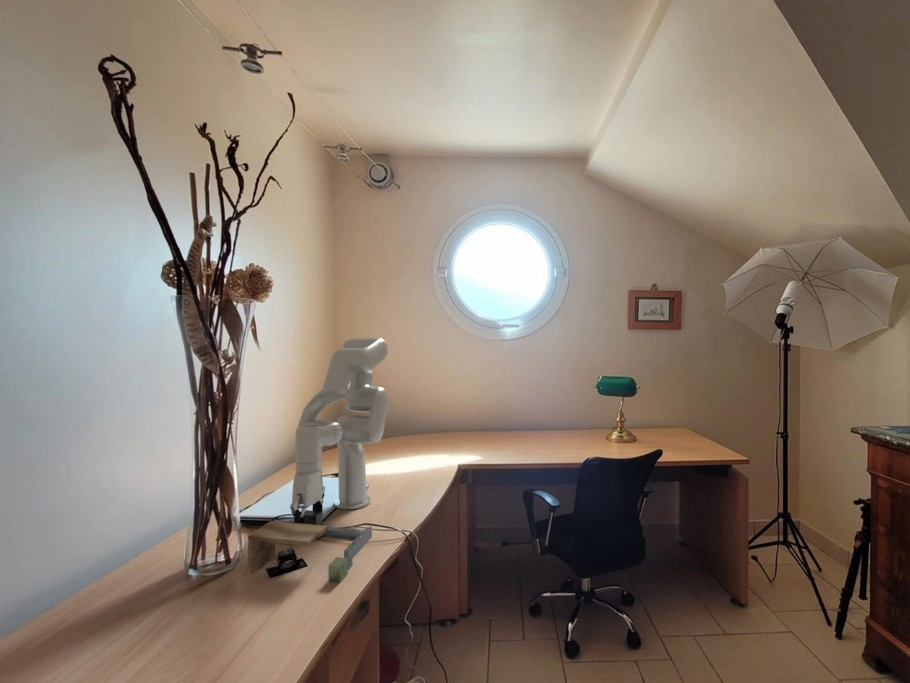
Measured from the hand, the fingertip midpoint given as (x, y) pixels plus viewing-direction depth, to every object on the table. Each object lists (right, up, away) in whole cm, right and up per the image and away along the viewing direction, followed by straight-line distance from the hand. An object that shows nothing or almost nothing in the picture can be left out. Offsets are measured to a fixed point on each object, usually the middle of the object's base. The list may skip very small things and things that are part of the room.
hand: (308, 523), depth 129 cm
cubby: (+2, -3, -20) cm, 20 cm away
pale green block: (+16, -3, -22) cm, 28 cm away
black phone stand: (+1, -4, -19) cm, 19 cm away
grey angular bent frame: (+7, -3, -7) cm, 10 cm away
